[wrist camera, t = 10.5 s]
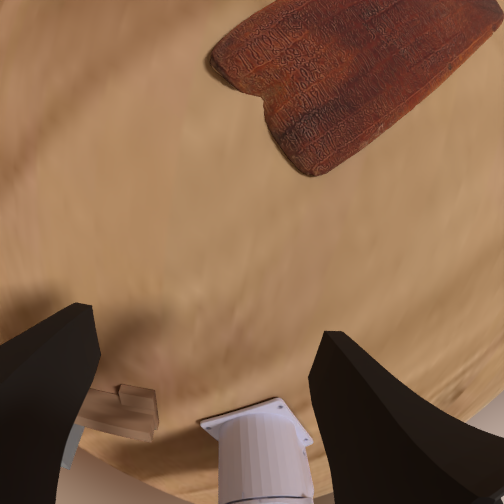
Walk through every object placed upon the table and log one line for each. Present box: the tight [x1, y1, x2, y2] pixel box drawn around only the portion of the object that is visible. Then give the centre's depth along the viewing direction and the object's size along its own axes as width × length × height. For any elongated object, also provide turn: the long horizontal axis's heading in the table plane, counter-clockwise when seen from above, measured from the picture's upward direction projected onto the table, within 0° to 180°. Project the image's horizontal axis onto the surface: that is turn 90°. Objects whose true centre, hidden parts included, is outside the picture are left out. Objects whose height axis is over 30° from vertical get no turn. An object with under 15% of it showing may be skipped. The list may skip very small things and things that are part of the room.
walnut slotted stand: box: [74, 384, 159, 443], centre depth 20 cm, size 18×5×4 cm, turn 82°
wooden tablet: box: [210, 0, 504, 176], centre depth 12 cm, size 27×10×2 cm, turn 131°
